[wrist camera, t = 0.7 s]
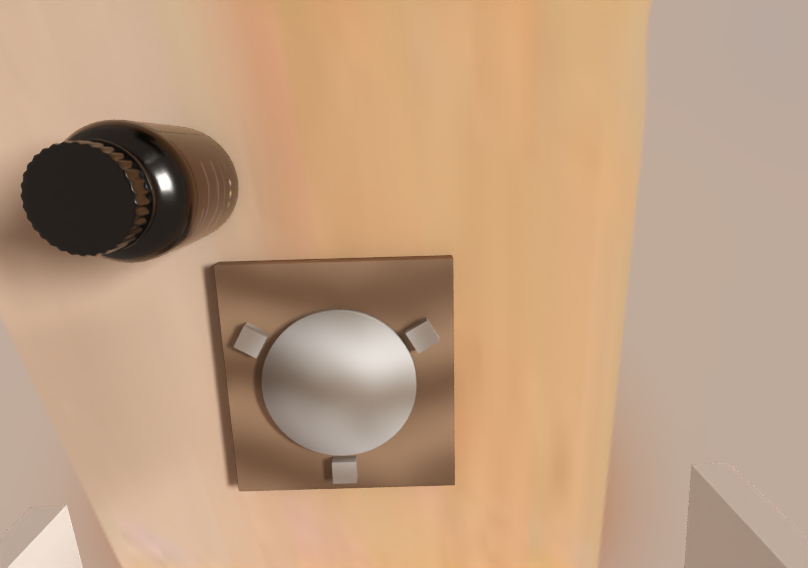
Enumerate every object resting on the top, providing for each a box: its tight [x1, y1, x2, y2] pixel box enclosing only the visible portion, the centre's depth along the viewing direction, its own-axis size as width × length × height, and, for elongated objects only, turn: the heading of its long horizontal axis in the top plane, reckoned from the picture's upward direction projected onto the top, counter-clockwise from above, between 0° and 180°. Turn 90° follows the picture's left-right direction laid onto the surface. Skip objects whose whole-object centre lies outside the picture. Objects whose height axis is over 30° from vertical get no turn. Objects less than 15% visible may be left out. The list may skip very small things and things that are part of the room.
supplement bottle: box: [21, 120, 238, 263], centre depth 28 cm, size 7×7×12 cm
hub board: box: [214, 255, 455, 491], centre depth 36 cm, size 16×15×2 cm
